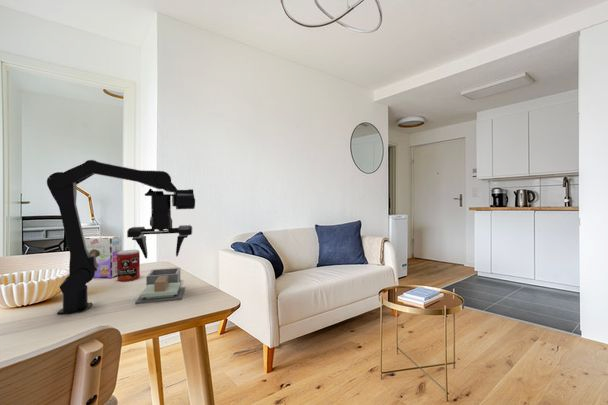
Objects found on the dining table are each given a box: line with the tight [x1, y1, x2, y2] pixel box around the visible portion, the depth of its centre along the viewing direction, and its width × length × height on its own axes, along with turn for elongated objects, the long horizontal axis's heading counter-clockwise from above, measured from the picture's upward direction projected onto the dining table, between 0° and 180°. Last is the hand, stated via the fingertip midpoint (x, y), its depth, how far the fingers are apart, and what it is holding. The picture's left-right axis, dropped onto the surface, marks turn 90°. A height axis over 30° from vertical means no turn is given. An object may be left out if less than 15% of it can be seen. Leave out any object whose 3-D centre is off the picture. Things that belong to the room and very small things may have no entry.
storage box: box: [145, 267, 181, 287], centre depth 109 cm, size 10×10×5 cm
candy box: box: [84, 235, 122, 279], centre depth 122 cm, size 14×6×16 cm, turn 84°
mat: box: [134, 286, 186, 305], centre depth 97 cm, size 12×13×1 cm
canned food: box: [116, 249, 141, 282], centre depth 118 cm, size 8×8×11 cm
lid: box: [139, 276, 181, 299], centre depth 97 cm, size 10×10×5 cm
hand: (161, 257), depth 97 cm, fingers open, 9 cm apart
